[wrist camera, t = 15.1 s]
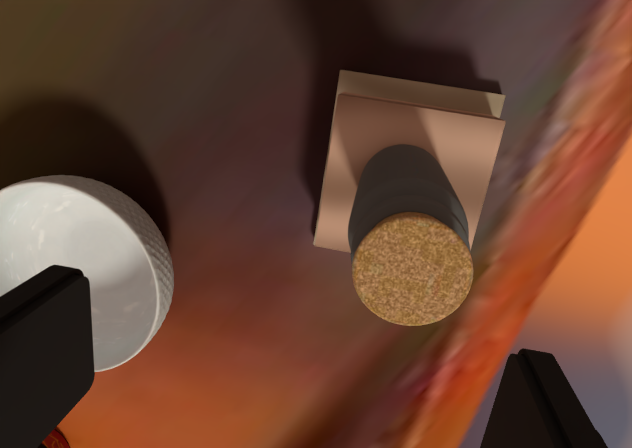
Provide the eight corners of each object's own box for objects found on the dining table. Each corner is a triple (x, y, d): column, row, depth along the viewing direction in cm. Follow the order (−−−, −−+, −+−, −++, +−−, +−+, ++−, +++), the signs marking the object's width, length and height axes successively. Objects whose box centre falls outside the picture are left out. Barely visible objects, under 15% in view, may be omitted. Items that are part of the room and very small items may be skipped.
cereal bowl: (168, 149, 40) (124, 166, 33) (213, 323, 44) (182, 368, 38) (-2, 176, 43) (-74, 196, 36) (57, 336, 48) (3, 379, 41)
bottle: (385, 127, 31) (382, 175, 17) (462, 169, 32) (521, 249, 17) (344, 201, 33) (312, 297, 19) (416, 239, 34) (436, 363, 19)
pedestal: (341, 69, 35) (334, 69, 31) (502, 94, 34) (520, 98, 30) (315, 239, 40) (305, 262, 35) (456, 266, 39) (465, 293, 34)
